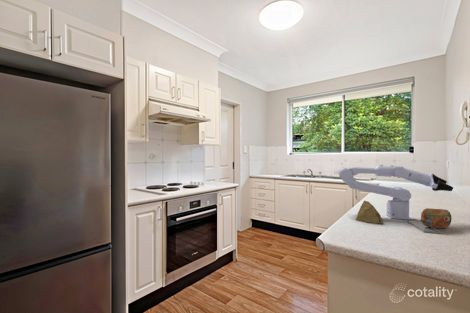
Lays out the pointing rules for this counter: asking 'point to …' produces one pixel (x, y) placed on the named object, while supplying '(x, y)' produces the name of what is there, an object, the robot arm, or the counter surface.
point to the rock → (368, 213)
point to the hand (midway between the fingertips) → (449, 186)
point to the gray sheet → (424, 227)
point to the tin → (436, 218)
